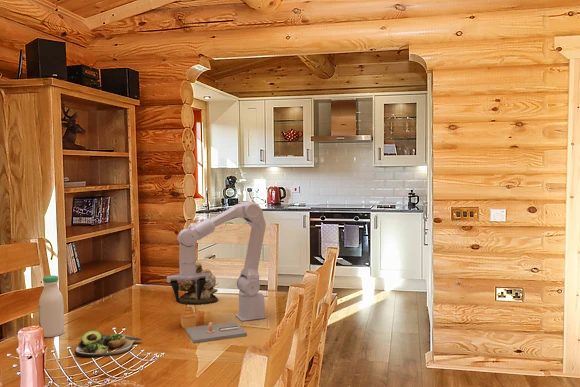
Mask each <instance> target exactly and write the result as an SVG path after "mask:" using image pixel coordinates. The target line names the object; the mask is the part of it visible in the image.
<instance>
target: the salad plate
mask: <svg viewBox="0 0 580 387" xmlns="http://www.w3.org/2000/svg"><path fill="white" fill-rule="evenodd" d="M142 340H143V338H141V337H134V336H131V335H128V334H122V333H113V334H110V335H107V334H106V335H105V334H103V333H102V332H100V331H99V330H93V329H92V330H88V331H86V332H85V333H83V334H82V336H81V337H80V341H79V343H78V344H77V347H76V348H75V351H74V354H75V355H77V357H82V358H97V357H106V356H111V355H112V356H113V355H118V354H119V355H120V354H122V353H125V352H127V351H129V350H130V349H131V348H132V346H133V344H134V343H136V342H138V341H142ZM117 349H118V350H117ZM110 350H114V351H110Z"/></svg>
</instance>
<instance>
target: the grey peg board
mask: <svg viewBox="0 0 580 387" xmlns="http://www.w3.org/2000/svg"><path fill="white" fill-rule="evenodd" d="M185 332H186V334H187V335H188V337H189V338H190V340H191V342H192V343H193V344H197V343H204V342H212V341H219V340H220V339H221V340H226V339H235V338H241V337H247V335H248V334H247V333H248V332H247V331H245V329H244V328H242V326H240V325H239V324H238V322H237V321H228V322H227V321H226V322H220V323H213V322H212V321H209V322H208V324H206V325H205V324H204V325H198V326H197V325H196V327H188V328H185Z"/></svg>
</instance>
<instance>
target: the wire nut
mask: <svg viewBox="0 0 580 387" xmlns="http://www.w3.org/2000/svg"><path fill="white" fill-rule="evenodd" d="M180 326H181V327H182V329H186V328H188V327H196V326H197V317H196V313H195V312H194V308H193V307H192V306H186V307H184V308H183V309H182V313H181V315H180Z"/></svg>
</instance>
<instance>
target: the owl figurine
mask: <svg viewBox="0 0 580 387" xmlns="http://www.w3.org/2000/svg"><path fill="white" fill-rule="evenodd" d="M196 273H208V279H205V280H206V283H205V285H204V287H203V290H202V293H201V297H200V300H198V299H197V279H196V280H185V281H179V283H178V284H179V290H178V291H181V292H185V293H183V294H182V295H180V296H179V302H178V303H180V304H182V305H188V304H189V305H191V306H192V305H193V306H195V305H198V306H200V305H201V306H202V304H203V305H209V304H210V303H211V304H213V303H217V302H218V300H219V298H218V297H217V296H216V295H215V293H217V292H218V291H219V290H218V288H215V287H216V284H217V282H216V275H213V273H212V271H211V269H208V268H206V269H204V268H203V265H202V264H201V262H199V261H196Z"/></svg>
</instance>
